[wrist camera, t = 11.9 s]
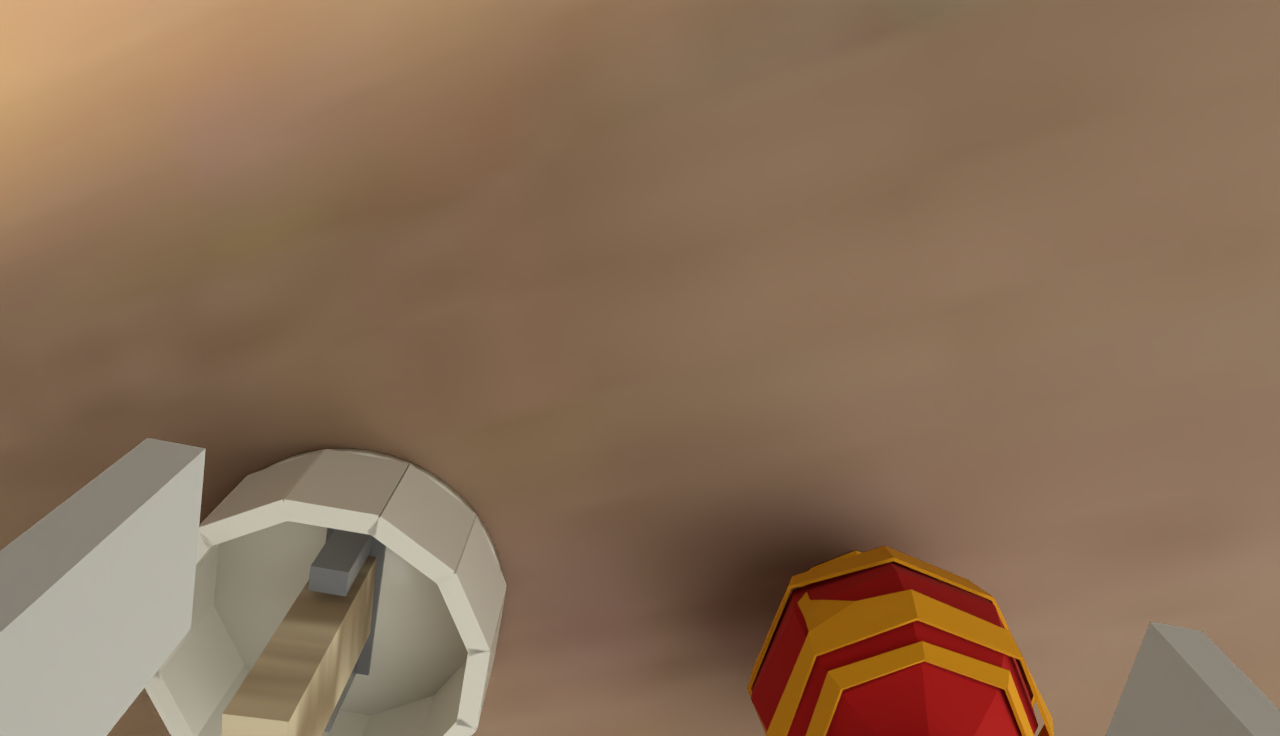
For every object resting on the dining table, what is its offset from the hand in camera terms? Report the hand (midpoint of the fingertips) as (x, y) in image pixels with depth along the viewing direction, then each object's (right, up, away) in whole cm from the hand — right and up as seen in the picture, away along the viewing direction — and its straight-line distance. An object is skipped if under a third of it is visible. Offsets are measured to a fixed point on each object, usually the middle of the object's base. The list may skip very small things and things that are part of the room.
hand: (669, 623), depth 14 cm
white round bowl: (-12, -6, +29) cm, 32 cm away
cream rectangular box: (-12, -6, +28) cm, 31 cm away
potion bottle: (+9, -7, +29) cm, 31 cm away
